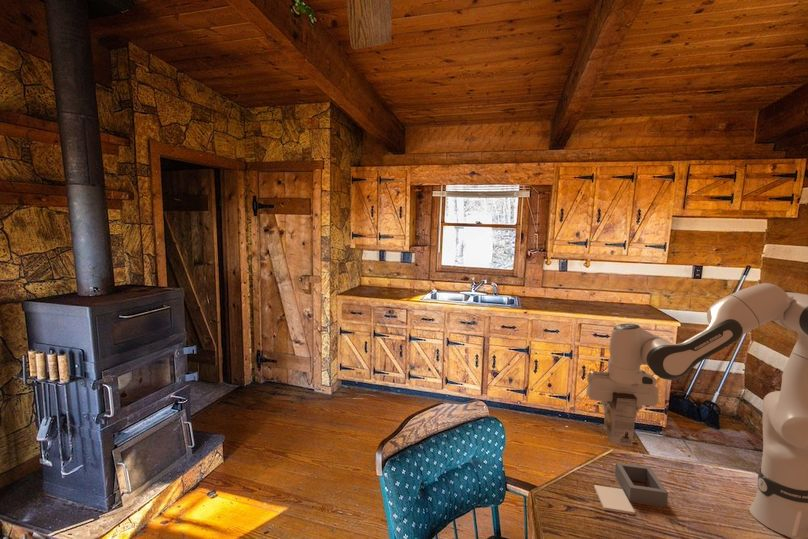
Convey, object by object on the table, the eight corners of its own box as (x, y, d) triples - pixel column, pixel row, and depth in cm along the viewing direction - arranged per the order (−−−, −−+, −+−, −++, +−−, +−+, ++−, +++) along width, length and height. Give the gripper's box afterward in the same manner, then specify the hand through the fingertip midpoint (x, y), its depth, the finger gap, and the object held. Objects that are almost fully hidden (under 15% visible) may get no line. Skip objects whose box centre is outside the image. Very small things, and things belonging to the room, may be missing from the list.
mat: (622, 491, 127) (622, 489, 127) (634, 514, 117) (634, 512, 117) (593, 487, 129) (594, 484, 129) (603, 509, 119) (603, 507, 119)
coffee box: (602, 428, 127) (606, 383, 125) (623, 431, 125) (627, 385, 123) (611, 443, 118) (615, 395, 116) (633, 446, 116) (638, 398, 114)
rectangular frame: (648, 479, 134) (649, 466, 133) (666, 507, 120) (667, 492, 120) (615, 475, 136) (615, 462, 136) (629, 501, 122) (630, 487, 122)
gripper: (590, 373, 118) (587, 415, 120) (662, 380, 114) (658, 423, 115) (585, 367, 125) (582, 406, 126) (653, 373, 120) (650, 414, 121)
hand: (619, 414), depth 121 cm, fingers closed on coffee box, 6 cm apart
